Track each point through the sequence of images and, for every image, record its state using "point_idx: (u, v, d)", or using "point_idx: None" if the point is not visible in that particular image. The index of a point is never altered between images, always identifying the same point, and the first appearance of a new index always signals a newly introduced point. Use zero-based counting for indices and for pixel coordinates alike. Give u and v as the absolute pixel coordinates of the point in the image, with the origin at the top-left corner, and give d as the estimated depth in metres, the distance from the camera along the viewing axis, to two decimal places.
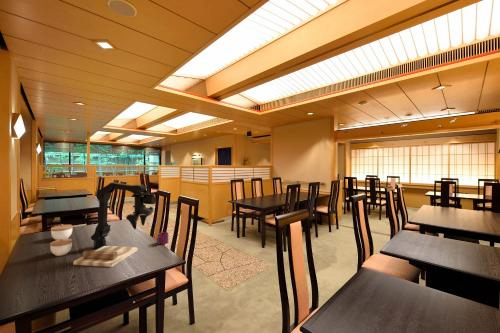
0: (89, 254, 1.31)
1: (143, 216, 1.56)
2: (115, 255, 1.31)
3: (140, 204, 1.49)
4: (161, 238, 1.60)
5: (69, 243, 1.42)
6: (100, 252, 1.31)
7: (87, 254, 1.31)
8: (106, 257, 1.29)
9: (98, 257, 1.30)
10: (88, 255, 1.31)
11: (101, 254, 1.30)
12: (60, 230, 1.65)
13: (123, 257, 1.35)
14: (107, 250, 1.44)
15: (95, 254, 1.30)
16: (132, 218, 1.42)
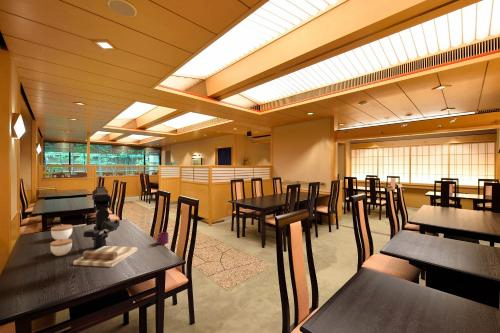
0: (89, 254, 1.31)
1: None
2: (115, 255, 1.31)
3: None
4: (161, 238, 1.60)
5: (69, 243, 1.42)
6: (100, 252, 1.31)
7: (87, 254, 1.31)
8: (106, 257, 1.29)
9: (98, 257, 1.30)
10: (88, 255, 1.31)
11: (101, 254, 1.30)
12: (60, 230, 1.65)
13: (123, 257, 1.35)
14: (107, 250, 1.44)
15: (95, 254, 1.30)
16: (90, 235, 1.16)
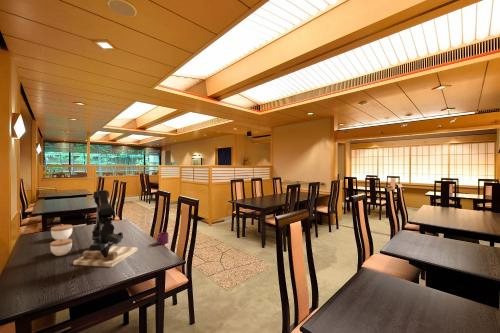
0: (89, 254, 1.31)
1: None
2: (115, 255, 1.31)
3: None
4: (161, 238, 1.60)
5: (69, 243, 1.42)
6: (100, 252, 1.31)
7: (87, 254, 1.31)
8: (106, 257, 1.29)
9: (98, 257, 1.30)
10: (88, 255, 1.31)
11: (101, 254, 1.30)
12: (60, 230, 1.65)
13: (123, 257, 1.35)
14: None
15: (95, 254, 1.30)
16: (96, 249, 1.19)
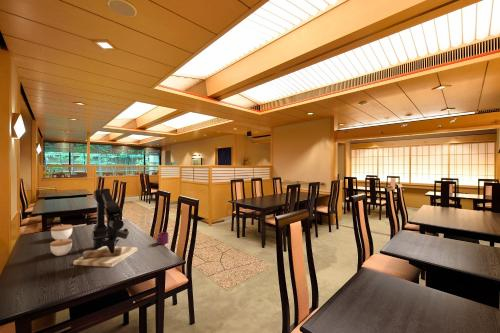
0: (91, 253, 1.32)
1: None
2: (121, 250, 1.38)
3: None
4: (161, 238, 1.60)
5: (69, 243, 1.42)
6: (103, 250, 1.35)
7: (89, 253, 1.31)
8: (112, 253, 1.35)
9: (102, 255, 1.34)
10: (90, 254, 1.32)
11: (106, 251, 1.34)
12: (60, 230, 1.65)
13: (123, 257, 1.35)
14: None
15: (99, 252, 1.33)
16: (110, 244, 1.26)
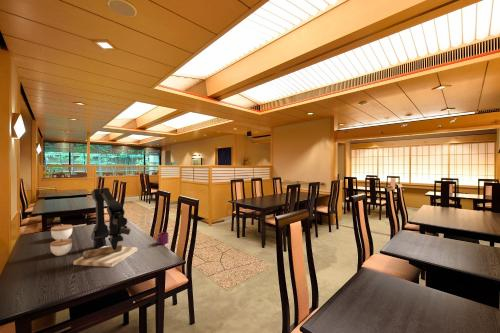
0: (93, 252, 1.33)
1: None
2: None
3: None
4: (161, 238, 1.60)
5: (69, 243, 1.42)
6: (104, 248, 1.38)
7: (90, 253, 1.32)
8: (114, 250, 1.40)
9: (104, 252, 1.37)
10: (92, 253, 1.33)
11: (108, 249, 1.38)
12: (60, 230, 1.65)
13: (123, 257, 1.35)
14: None
15: (100, 250, 1.35)
16: (120, 240, 1.33)
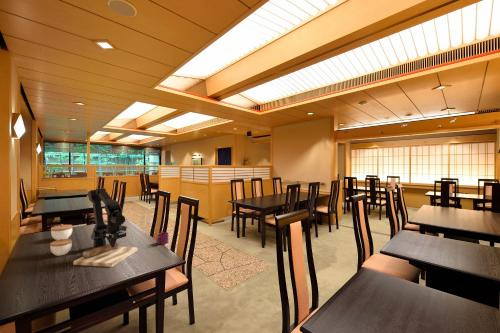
0: (93, 251, 1.34)
1: None
2: None
3: None
4: (161, 238, 1.60)
5: (69, 243, 1.42)
6: (102, 246, 1.40)
7: (91, 252, 1.33)
8: (111, 248, 1.44)
9: (103, 251, 1.39)
10: (92, 253, 1.34)
11: (106, 247, 1.41)
12: (60, 230, 1.65)
13: (123, 257, 1.35)
14: None
15: (100, 249, 1.38)
16: (124, 235, 1.40)
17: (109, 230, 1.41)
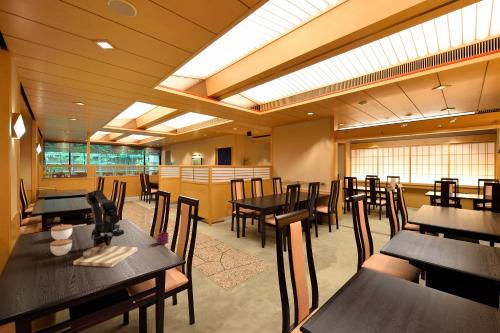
0: (93, 251, 1.35)
1: None
2: None
3: None
4: (161, 238, 1.60)
5: (69, 243, 1.42)
6: (98, 246, 1.41)
7: (91, 252, 1.34)
8: (106, 246, 1.46)
9: (100, 250, 1.41)
10: (92, 252, 1.35)
11: (102, 246, 1.43)
12: (60, 230, 1.65)
13: (123, 257, 1.35)
14: (107, 250, 1.44)
15: (98, 248, 1.39)
16: (122, 233, 1.46)
17: (106, 229, 1.43)
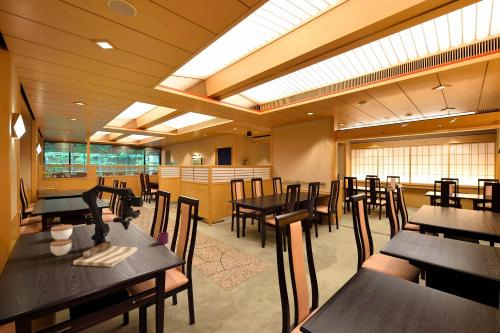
0: (93, 251, 1.35)
1: None
2: None
3: (127, 207, 1.52)
4: (161, 238, 1.60)
5: (69, 243, 1.42)
6: (98, 246, 1.41)
7: (91, 252, 1.34)
8: (106, 246, 1.46)
9: (100, 250, 1.41)
10: (92, 252, 1.35)
11: (102, 246, 1.43)
12: (60, 230, 1.65)
13: (123, 257, 1.35)
14: (107, 250, 1.44)
15: (98, 248, 1.39)
16: (119, 221, 1.45)
17: None
